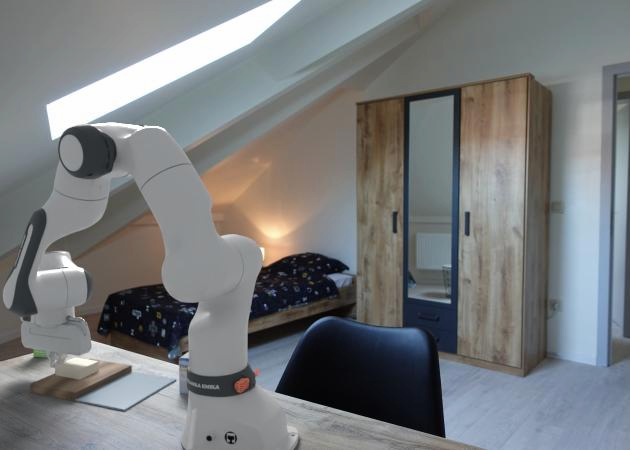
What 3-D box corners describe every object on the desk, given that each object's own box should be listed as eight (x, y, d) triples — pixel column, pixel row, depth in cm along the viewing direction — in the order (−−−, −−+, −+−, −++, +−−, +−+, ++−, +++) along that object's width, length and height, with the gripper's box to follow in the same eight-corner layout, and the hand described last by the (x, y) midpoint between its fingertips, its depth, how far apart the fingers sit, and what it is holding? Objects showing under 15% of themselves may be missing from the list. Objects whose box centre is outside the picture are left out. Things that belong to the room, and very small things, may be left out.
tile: (99, 370, 121) (98, 361, 121) (79, 379, 115) (79, 369, 115) (75, 366, 124) (74, 357, 123) (55, 375, 118) (54, 365, 118)
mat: (176, 380, 120) (176, 378, 120) (124, 411, 103) (124, 409, 103) (131, 372, 125) (131, 371, 125) (75, 401, 108) (75, 399, 108)
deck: (131, 372, 125) (131, 365, 125) (75, 401, 108) (75, 392, 108) (90, 365, 130) (90, 358, 130) (30, 391, 113) (30, 383, 113)
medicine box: (194, 380, 120) (193, 347, 119) (210, 382, 119) (210, 348, 118) (178, 393, 112) (178, 357, 112) (196, 395, 111) (195, 359, 111)
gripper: (96, 314, 120) (98, 368, 121) (37, 308, 127) (39, 358, 128) (76, 321, 114) (78, 377, 115) (15, 313, 121) (17, 366, 122)
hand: (57, 367), depth 122 cm, fingers closed
